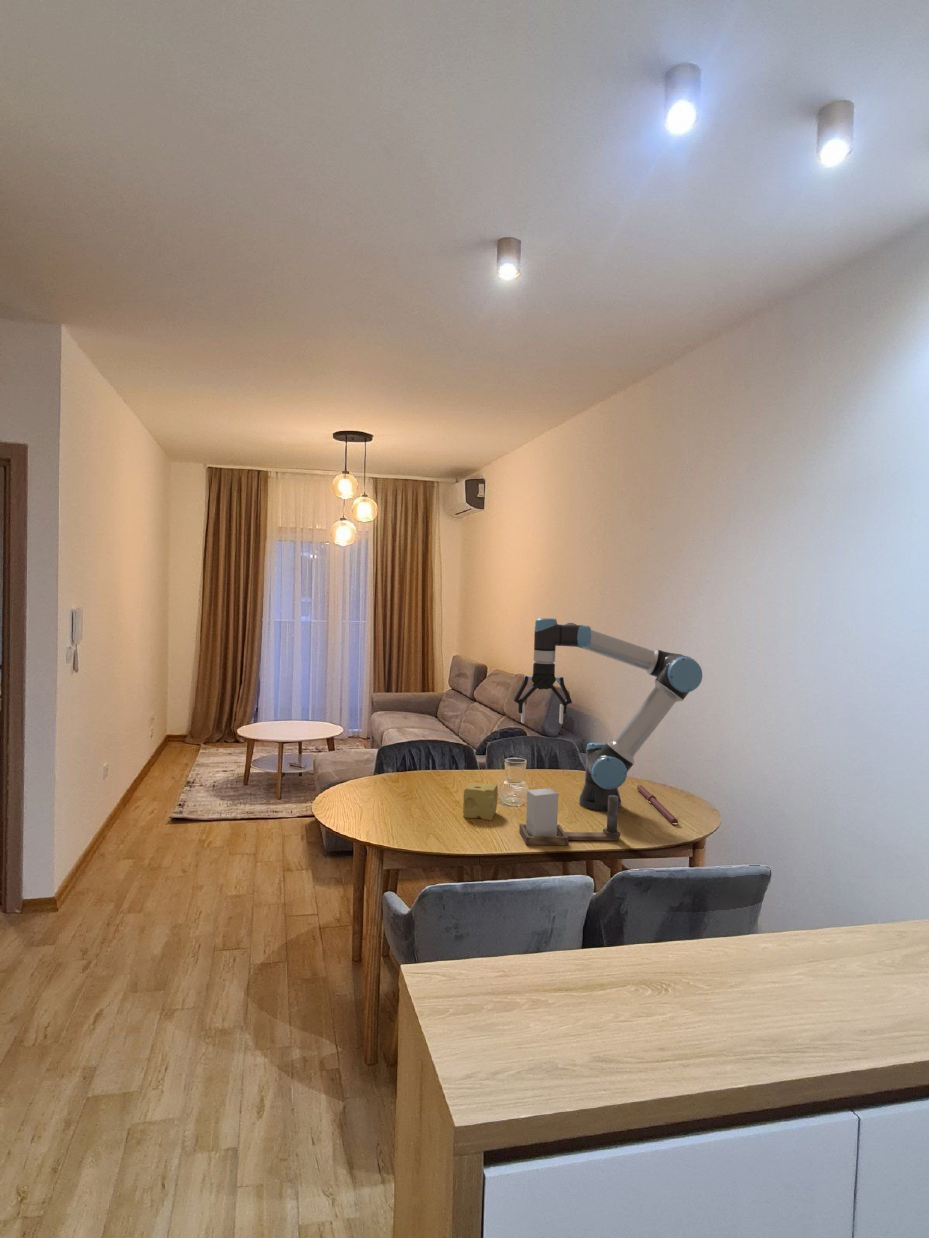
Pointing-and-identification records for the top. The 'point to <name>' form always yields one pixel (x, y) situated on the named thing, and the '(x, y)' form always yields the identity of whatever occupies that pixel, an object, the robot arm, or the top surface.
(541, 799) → the skincare box
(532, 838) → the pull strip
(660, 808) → the reddish-brown rod
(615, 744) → the robot arm
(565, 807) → the top surface
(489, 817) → the cheese
